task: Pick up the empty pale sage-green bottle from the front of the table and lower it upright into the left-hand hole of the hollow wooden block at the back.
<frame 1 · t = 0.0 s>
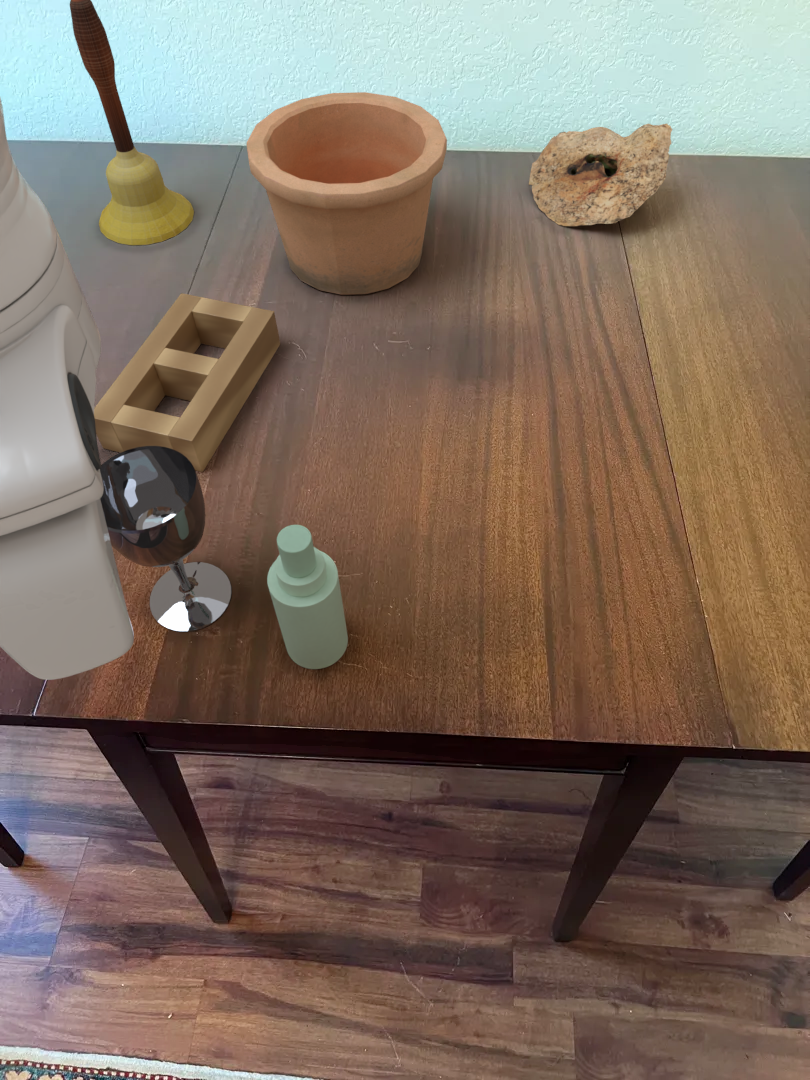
hand: (93, 551, 39), 26 cm above the table, tool pointing down, fingers open, 8 cm apart
wine glass: (191, 597, 68), on the table
handbell: (147, 218, 102), on the table
bottle: (317, 641, 65), on the table
pottery: (355, 255, 97), on the table
rough tan rock: (589, 205, 103), on the table
hollow wooden block: (196, 393, 83), on the table
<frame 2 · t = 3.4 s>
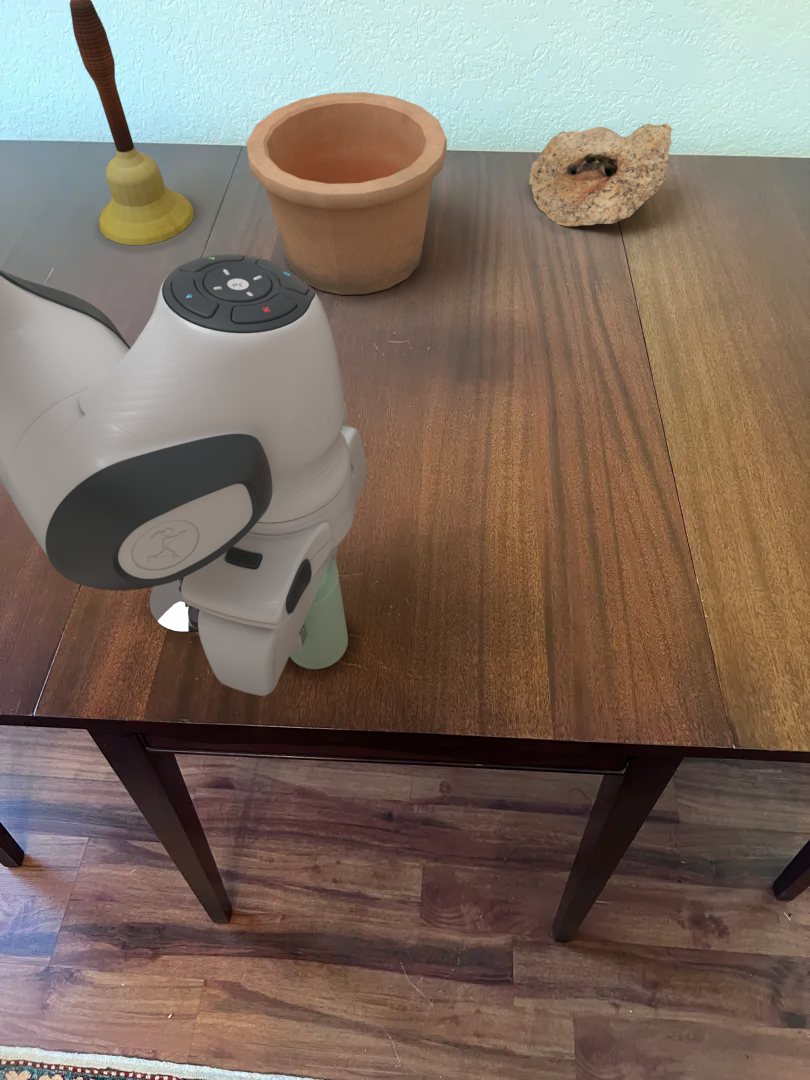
hand: (309, 607, 61), 6 cm above the table, tool pointing down, fingers closed on bottle, 5 cm apart
bottle: (317, 641, 65), on the table, touching gripper
everything else where it was.
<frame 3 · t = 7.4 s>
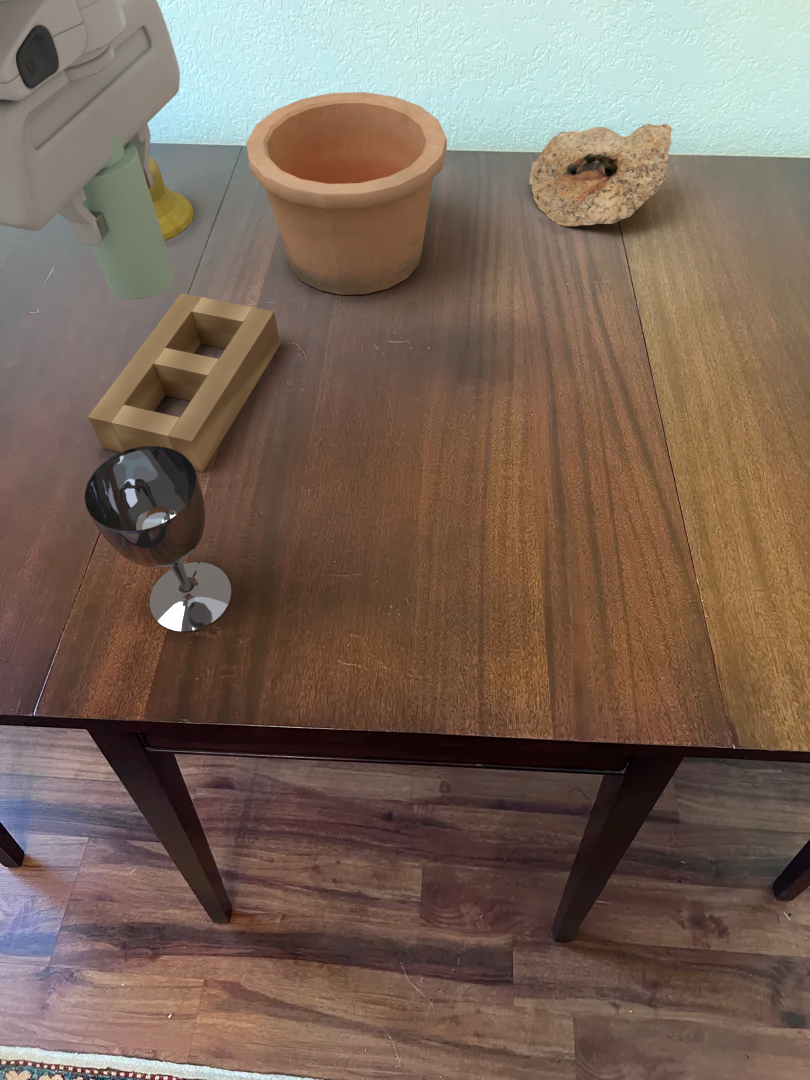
hand: (117, 214, 58), 25 cm above the table, tool pointing down, fingers closed on bottle, 5 cm apart
bottle: (141, 279, 62), point 20 cm above the table, touching gripper
everything else where it was.
when the fingers open (6 cm above the table, at t = 11.5 s): bottle stays where it is, resting in hollow wooden block.
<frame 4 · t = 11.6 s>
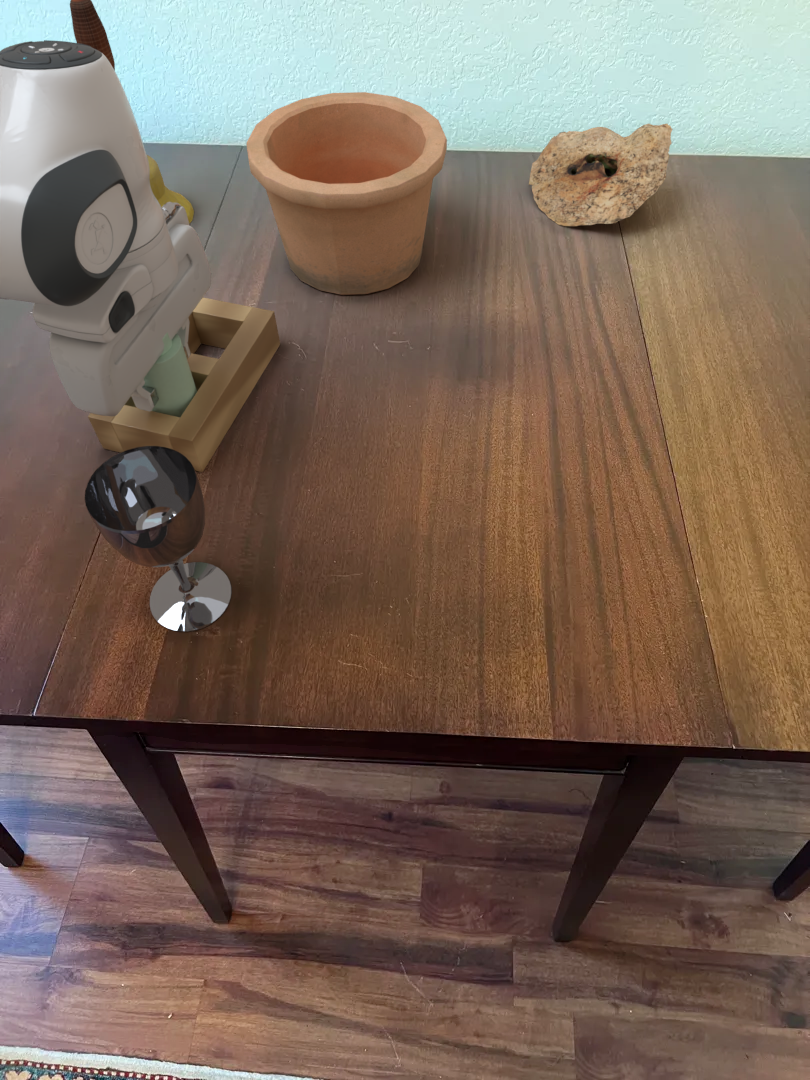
hand: (164, 382, 76), 5 cm above the table, tool pointing down, fingers open, 5 cm apart
bottle: (179, 421, 80), resting in hollow wooden block
everything else where it was.
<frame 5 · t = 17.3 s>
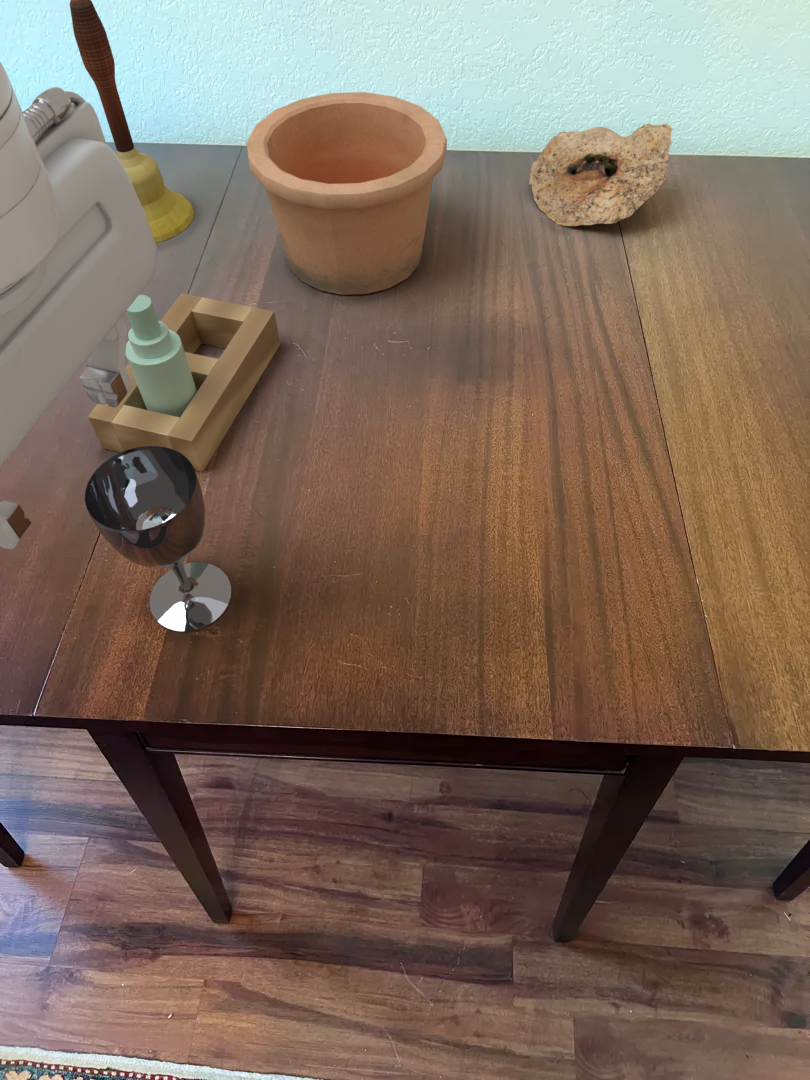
hand: (64, 461, 39), 29 cm above the table, tool pointing down, fingers open, 8 cm apart
nothing on the table moved.
at the end: bottle 0.2 cm from the target spot in the hollow wooden block, point 0.0 cm above the hollow wooden block's base; bottle tilted 0°; the gripper is holding nothing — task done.
